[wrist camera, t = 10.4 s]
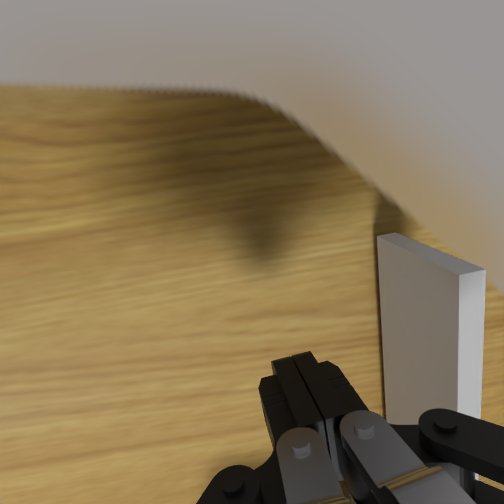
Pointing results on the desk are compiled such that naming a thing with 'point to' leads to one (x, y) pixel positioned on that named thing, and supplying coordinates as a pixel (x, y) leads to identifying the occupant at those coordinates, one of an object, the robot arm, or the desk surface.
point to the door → (429, 330)
